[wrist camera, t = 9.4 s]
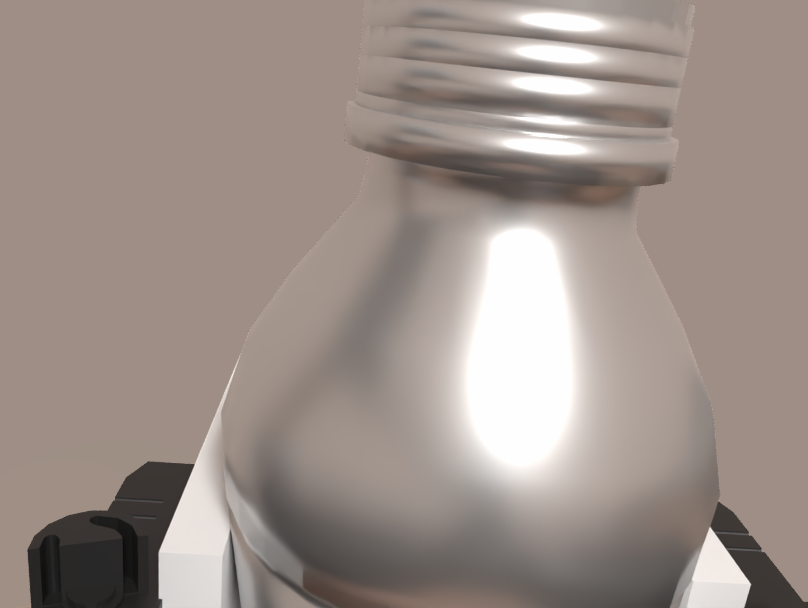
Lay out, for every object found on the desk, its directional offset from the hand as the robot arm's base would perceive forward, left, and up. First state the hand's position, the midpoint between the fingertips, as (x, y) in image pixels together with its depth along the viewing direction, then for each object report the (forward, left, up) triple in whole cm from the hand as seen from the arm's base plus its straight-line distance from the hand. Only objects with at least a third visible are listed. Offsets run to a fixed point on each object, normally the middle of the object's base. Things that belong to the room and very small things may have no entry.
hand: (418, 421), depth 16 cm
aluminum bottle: (+5, -2, -12) cm, 13 cm away
